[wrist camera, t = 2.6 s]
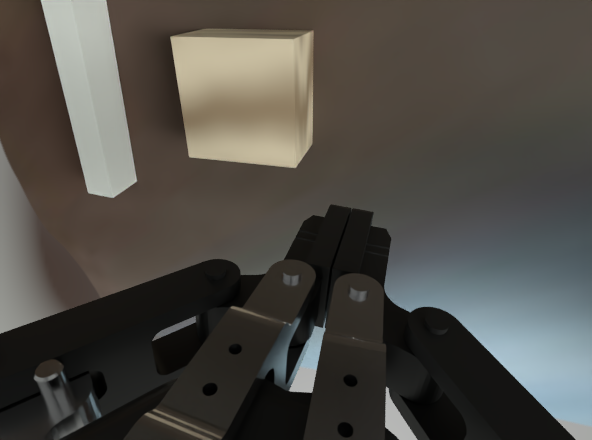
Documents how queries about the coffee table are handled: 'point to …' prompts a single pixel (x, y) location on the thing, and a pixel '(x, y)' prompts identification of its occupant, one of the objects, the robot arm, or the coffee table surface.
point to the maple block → (246, 94)
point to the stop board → (92, 92)
